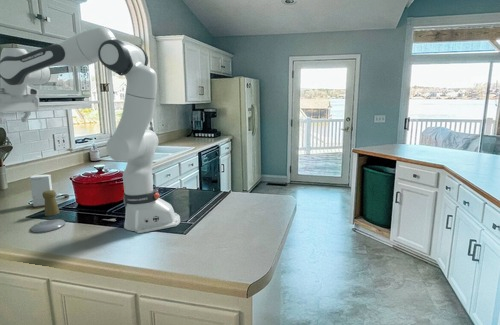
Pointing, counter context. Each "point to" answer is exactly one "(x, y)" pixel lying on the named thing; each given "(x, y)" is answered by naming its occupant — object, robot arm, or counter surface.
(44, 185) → the skincare box
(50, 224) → the coaster
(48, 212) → the cork
